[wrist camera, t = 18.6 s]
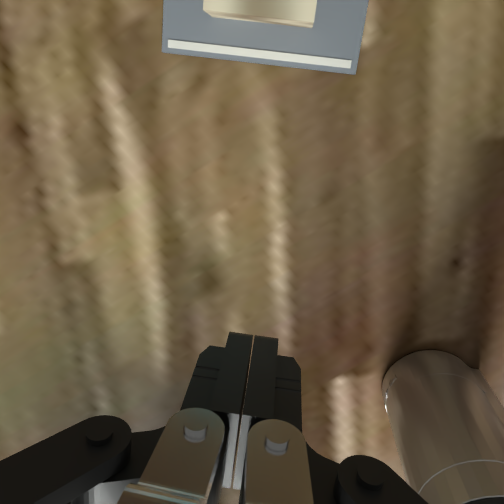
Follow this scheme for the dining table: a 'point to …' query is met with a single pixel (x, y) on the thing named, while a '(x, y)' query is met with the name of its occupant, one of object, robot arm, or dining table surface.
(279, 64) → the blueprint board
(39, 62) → the dining table surface
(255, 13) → the base block
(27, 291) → the dining table surface
